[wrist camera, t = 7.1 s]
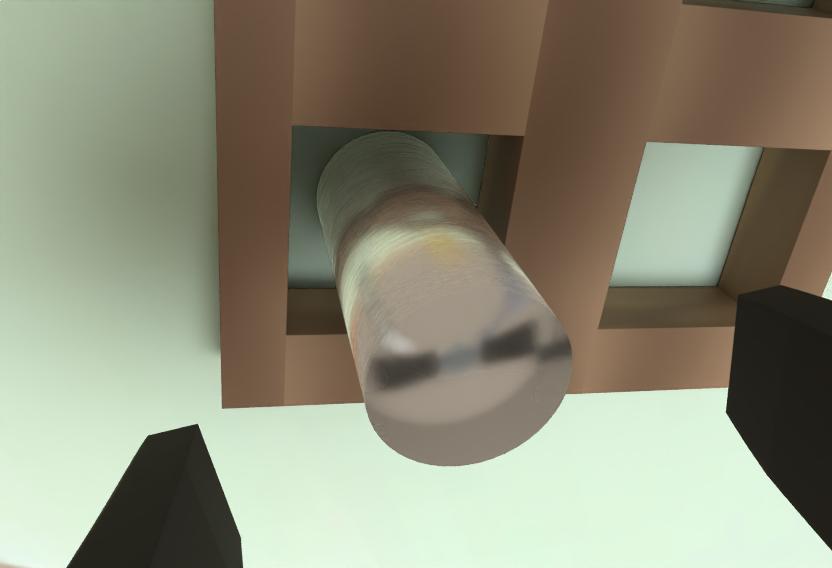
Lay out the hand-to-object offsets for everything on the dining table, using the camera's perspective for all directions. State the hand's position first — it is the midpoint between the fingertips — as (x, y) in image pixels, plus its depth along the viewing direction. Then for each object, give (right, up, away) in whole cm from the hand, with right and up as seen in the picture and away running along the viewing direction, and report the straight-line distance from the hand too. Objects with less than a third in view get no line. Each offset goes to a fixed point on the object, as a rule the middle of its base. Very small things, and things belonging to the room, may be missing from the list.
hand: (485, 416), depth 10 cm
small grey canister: (-2, +4, +7) cm, 8 cm away
